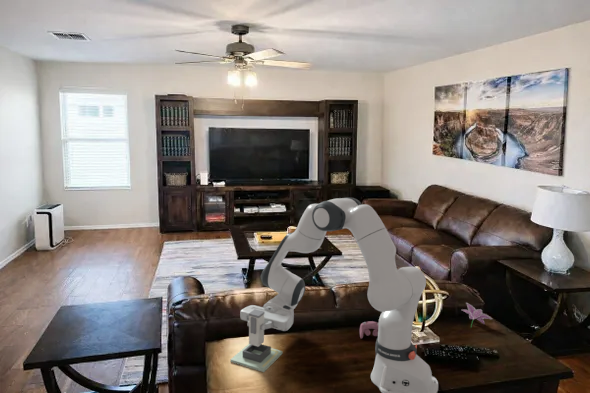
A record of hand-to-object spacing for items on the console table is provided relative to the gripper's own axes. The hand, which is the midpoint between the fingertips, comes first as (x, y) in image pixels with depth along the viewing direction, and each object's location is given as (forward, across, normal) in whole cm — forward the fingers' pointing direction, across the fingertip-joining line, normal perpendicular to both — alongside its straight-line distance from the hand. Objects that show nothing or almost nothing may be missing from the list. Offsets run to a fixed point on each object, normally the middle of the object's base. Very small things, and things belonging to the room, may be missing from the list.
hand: (255, 326), depth 169 cm
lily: (-69, +70, +13) cm, 99 cm away
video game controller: (-37, +33, +13) cm, 51 cm away
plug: (-1, 0, +7) cm, 7 cm away
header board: (-1, 0, +13) cm, 13 cm away
